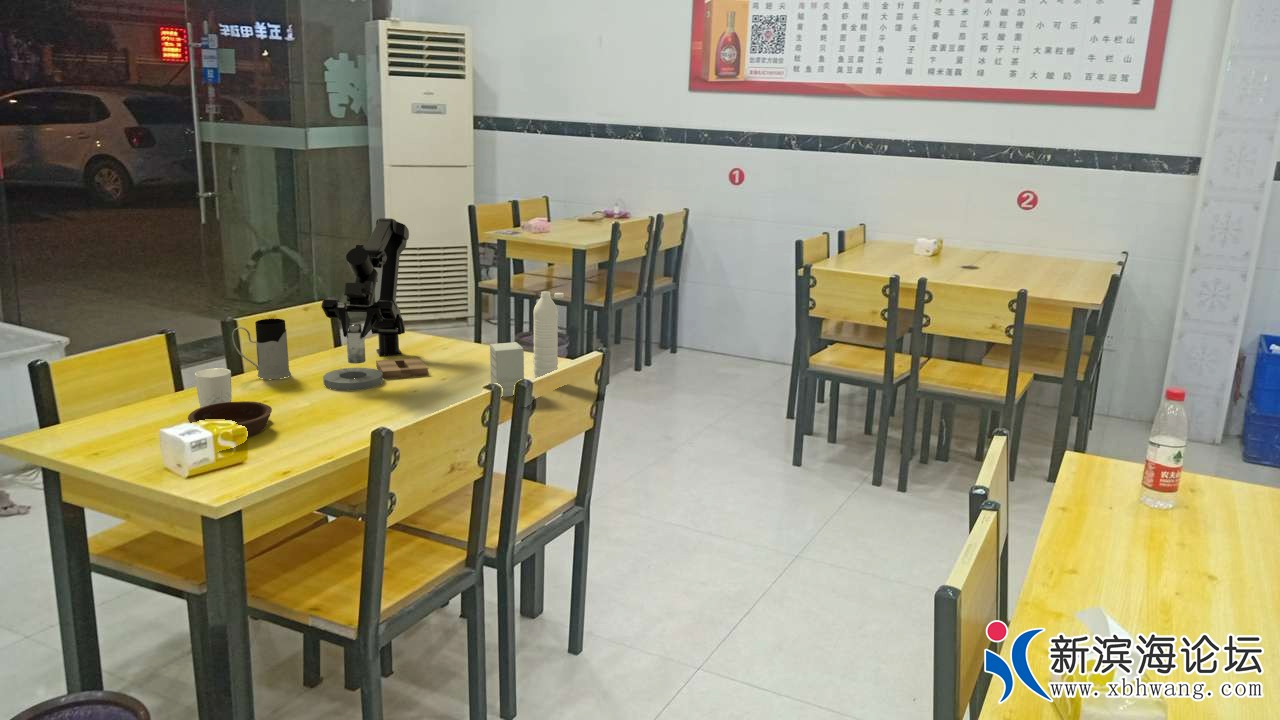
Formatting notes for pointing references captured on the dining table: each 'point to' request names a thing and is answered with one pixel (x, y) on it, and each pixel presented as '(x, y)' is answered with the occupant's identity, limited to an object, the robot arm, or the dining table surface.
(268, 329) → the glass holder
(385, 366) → the block
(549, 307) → the water bottle
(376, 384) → the round bore
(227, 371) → the white cup
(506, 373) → the supplement box
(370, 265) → the robot arm
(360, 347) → the grey small bottle
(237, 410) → the dish
